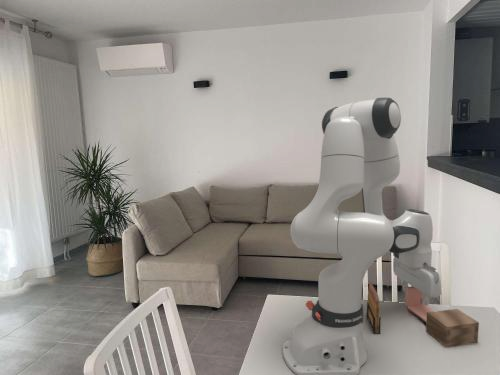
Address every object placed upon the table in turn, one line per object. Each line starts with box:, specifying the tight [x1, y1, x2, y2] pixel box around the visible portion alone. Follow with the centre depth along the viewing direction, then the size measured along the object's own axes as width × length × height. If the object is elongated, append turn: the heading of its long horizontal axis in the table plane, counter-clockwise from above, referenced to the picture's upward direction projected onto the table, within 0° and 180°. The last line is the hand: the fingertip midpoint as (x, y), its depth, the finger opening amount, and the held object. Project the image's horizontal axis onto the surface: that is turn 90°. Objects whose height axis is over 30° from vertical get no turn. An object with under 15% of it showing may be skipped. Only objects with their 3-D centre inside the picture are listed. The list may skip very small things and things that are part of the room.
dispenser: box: [425, 308, 480, 348], centre depth 99 cm, size 10×8×6 cm
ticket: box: [404, 285, 436, 323], centre depth 109 cm, size 6×14×7 cm, turn 10°
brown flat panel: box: [366, 281, 382, 335], centre depth 107 cm, size 11×2×12 cm, turn 173°
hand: (414, 298), depth 115 cm, fingers open, 8 cm apart
